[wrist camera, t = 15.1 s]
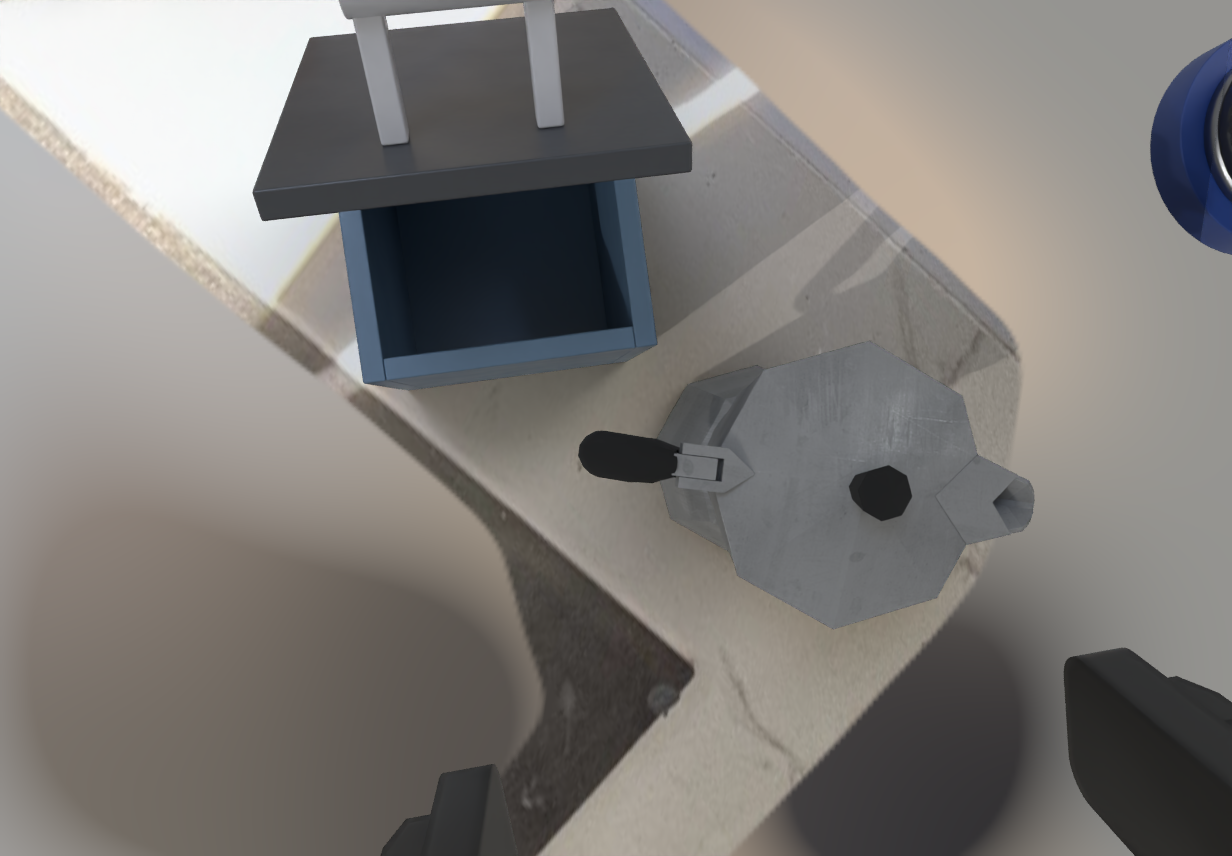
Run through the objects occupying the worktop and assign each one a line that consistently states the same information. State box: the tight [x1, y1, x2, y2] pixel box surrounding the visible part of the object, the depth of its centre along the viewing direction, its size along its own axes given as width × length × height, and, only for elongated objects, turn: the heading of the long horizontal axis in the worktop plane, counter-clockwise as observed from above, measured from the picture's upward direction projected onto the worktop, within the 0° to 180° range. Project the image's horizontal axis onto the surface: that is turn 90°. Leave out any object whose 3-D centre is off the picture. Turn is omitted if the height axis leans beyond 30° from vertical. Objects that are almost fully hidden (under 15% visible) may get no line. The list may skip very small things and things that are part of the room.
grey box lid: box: [253, 0, 692, 221], centre depth 25 cm, size 12×11×6 cm
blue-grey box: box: [339, 178, 657, 390], centre depth 37 cm, size 12×11×11 cm
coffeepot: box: [578, 341, 1034, 629], centre depth 35 cm, size 15×9×18 cm, turn 83°
